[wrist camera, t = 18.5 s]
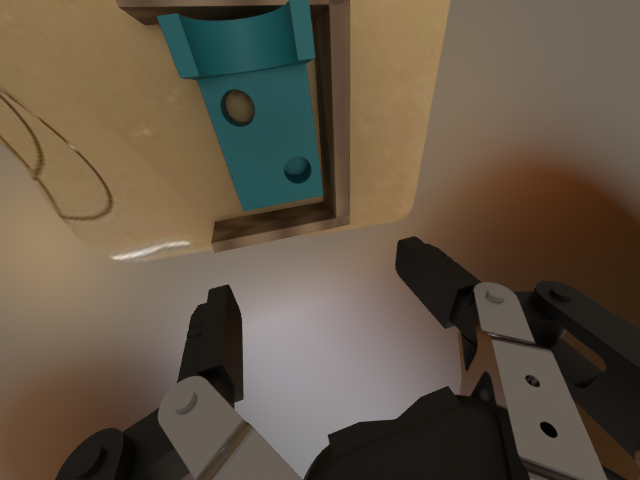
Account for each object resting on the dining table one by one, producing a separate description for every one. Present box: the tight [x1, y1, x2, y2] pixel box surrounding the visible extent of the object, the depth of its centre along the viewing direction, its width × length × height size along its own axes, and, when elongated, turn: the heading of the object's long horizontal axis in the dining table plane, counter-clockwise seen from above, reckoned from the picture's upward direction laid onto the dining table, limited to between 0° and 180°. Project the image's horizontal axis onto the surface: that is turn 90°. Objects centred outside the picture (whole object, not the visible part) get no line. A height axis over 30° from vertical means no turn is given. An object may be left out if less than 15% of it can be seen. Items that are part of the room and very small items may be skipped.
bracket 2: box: [116, 0, 350, 253], centre depth 28 cm, size 19×25×6 cm
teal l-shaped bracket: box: [157, 0, 323, 211], centre depth 26 cm, size 18×11×10 cm, turn 7°
